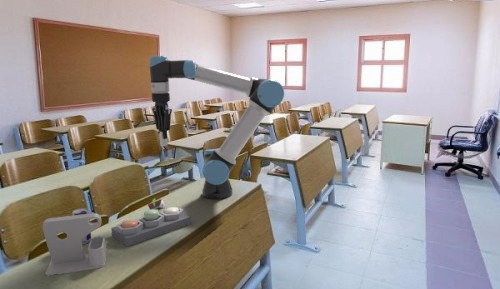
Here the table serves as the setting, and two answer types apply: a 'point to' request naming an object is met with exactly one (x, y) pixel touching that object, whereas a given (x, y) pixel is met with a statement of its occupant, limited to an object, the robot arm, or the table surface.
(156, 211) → the sage button
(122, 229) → the button board
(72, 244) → the phone holder
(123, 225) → the terracotta button
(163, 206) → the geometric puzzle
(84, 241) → the energy drink
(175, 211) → the cream button
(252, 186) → the table surface
